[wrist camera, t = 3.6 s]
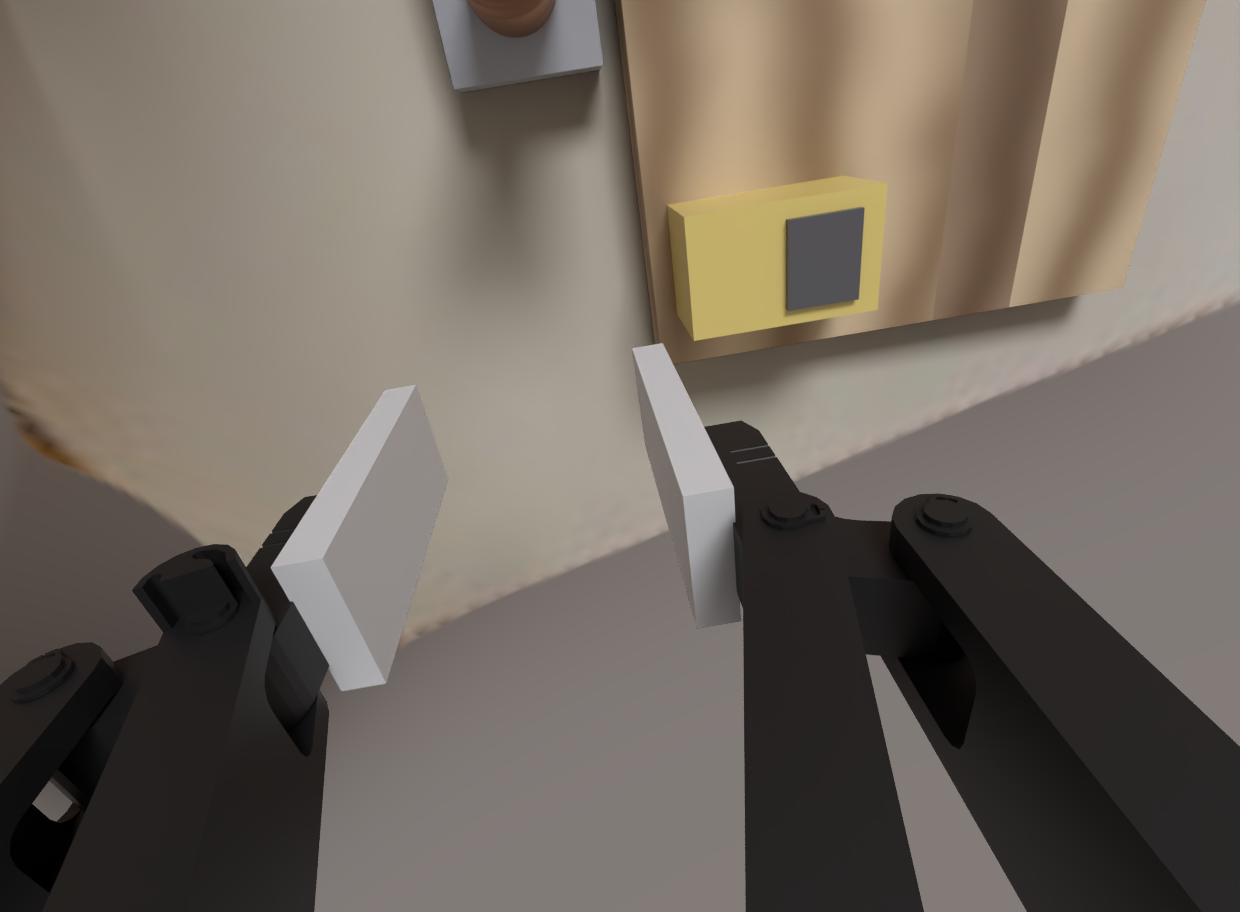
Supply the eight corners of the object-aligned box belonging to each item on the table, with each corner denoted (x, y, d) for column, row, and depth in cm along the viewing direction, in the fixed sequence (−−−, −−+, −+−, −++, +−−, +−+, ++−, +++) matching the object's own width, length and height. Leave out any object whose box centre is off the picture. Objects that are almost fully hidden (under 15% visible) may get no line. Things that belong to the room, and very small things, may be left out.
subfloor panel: (655, 350, 32) (662, 366, 30) (604, -86, 23) (609, -108, 21) (1086, 277, 32) (1123, 287, 30) (1202, -182, 23) (1266, -212, 21)
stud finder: (677, 314, 29) (695, 343, 25) (666, 204, 26) (685, 218, 22) (838, 287, 29) (880, 311, 25) (843, 175, 26) (891, 183, 22)
